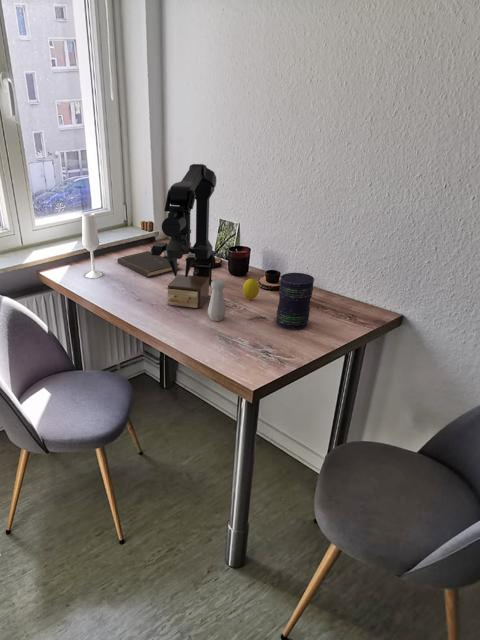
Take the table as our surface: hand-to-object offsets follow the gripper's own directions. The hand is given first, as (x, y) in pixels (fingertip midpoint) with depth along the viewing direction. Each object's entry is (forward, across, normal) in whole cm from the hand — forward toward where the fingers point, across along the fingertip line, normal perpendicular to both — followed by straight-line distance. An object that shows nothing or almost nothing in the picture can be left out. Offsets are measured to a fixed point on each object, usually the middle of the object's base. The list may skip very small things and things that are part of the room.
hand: (181, 276), depth 164 cm
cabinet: (+12, 0, +9) cm, 15 cm away
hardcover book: (+12, -27, +40) cm, 50 cm away
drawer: (+11, 0, +5) cm, 12 cm away
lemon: (+12, +21, +15) cm, 28 cm away
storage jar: (+12, +37, 0) cm, 39 cm away
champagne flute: (+12, -44, +24) cm, 52 cm away
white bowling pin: (+12, +13, -3) cm, 18 cm away
